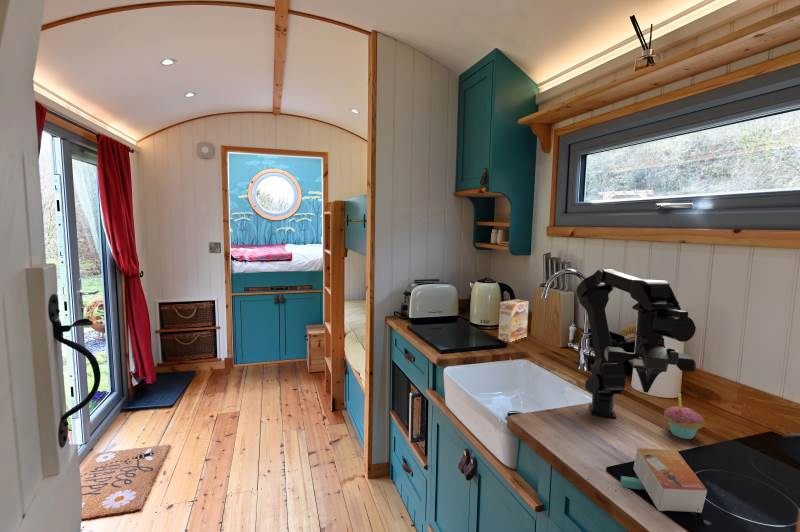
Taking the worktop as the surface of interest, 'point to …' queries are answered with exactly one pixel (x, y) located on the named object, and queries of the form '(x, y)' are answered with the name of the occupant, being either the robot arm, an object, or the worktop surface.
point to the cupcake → (683, 420)
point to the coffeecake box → (513, 320)
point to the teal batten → (631, 483)
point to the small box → (669, 480)
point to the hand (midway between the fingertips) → (645, 391)
